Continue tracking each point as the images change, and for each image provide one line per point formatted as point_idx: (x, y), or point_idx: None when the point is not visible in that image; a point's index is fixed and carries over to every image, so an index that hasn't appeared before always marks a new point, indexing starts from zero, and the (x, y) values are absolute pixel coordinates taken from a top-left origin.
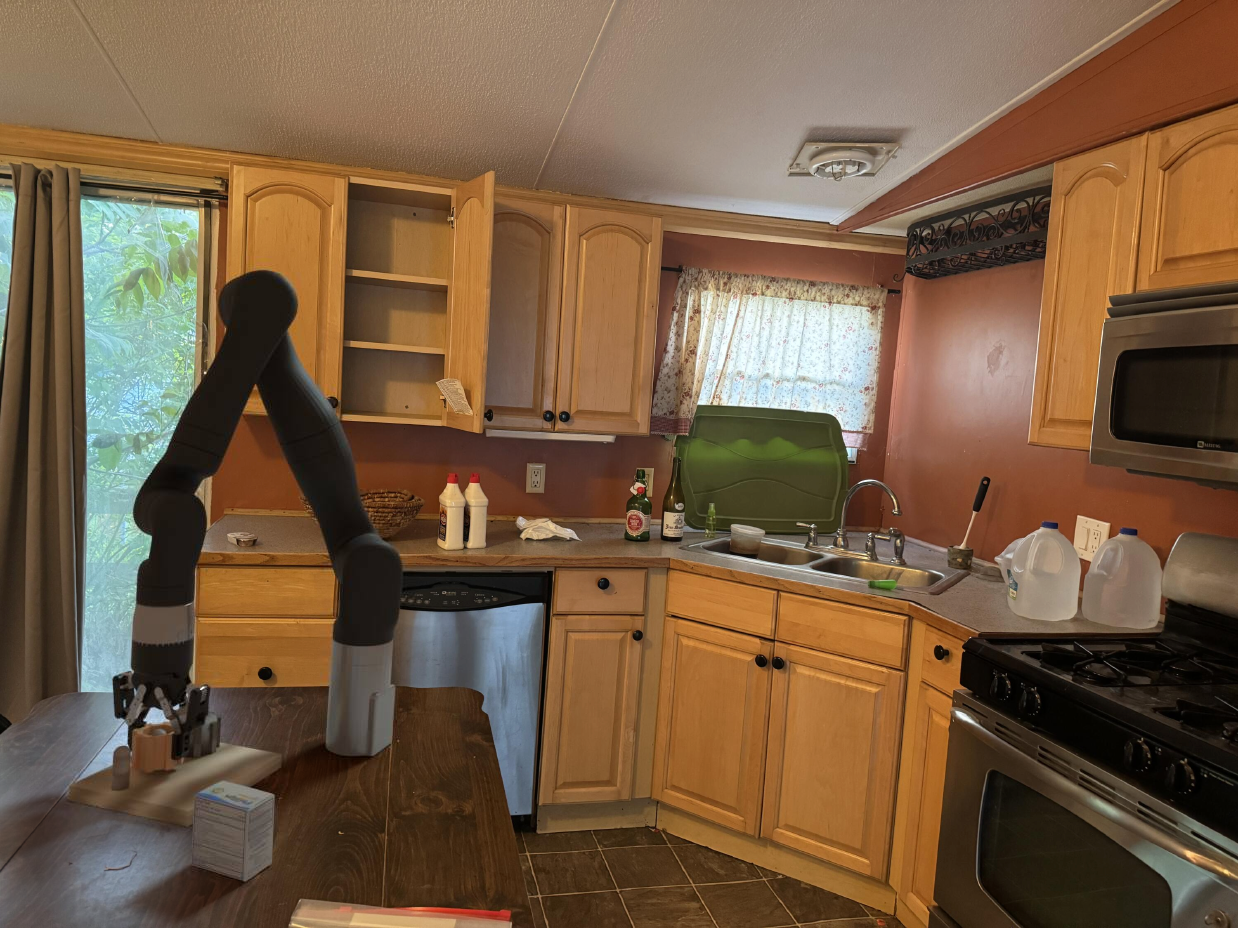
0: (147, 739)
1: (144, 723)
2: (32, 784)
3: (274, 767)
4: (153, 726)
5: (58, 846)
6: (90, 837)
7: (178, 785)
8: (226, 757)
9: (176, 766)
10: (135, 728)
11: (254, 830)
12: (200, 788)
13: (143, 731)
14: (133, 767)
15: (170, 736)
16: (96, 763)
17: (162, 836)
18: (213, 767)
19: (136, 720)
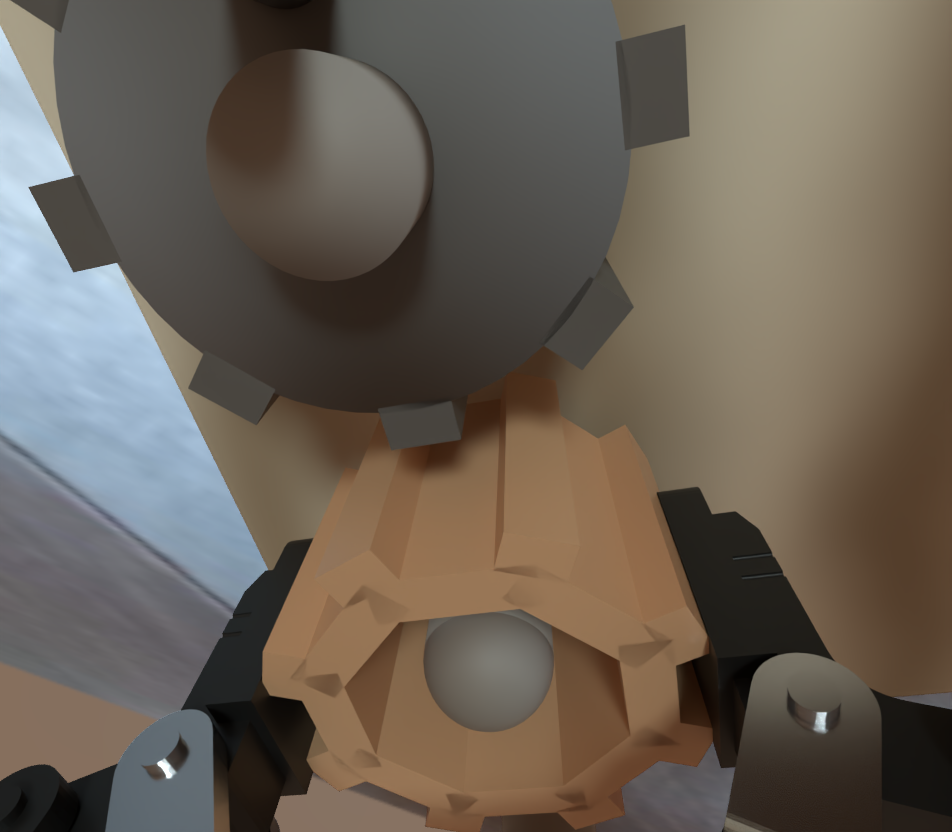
0: (581, 825)
1: (264, 706)
2: (134, 667)
3: None
4: (354, 672)
5: (639, 821)
6: (678, 773)
7: (782, 559)
8: (782, 90)
9: (570, 416)
10: (309, 767)
11: None
12: (929, 529)
13: (377, 732)
14: None
15: (696, 743)
16: (59, 451)
17: (913, 695)
18: (808, 291)
19: (267, 824)
